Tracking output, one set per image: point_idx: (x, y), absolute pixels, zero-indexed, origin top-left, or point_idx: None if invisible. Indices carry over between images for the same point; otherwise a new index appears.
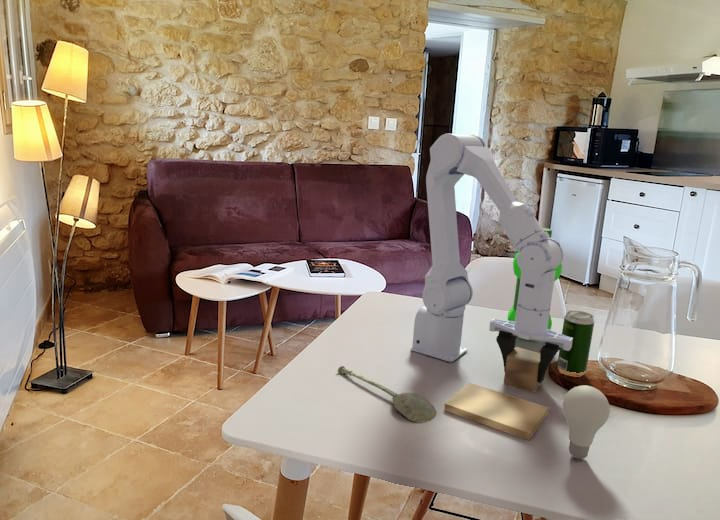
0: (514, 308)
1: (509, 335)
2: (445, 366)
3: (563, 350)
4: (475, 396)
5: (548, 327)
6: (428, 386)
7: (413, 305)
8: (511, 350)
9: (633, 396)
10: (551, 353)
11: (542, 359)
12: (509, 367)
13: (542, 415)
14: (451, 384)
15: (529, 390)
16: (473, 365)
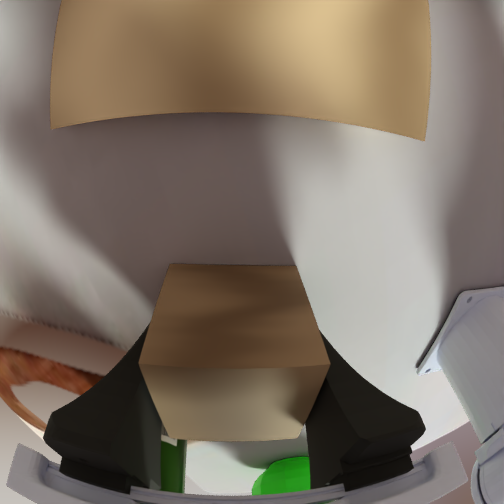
0: (330, 501)
1: (355, 477)
2: (473, 261)
3: (161, 461)
4: (364, 15)
5: (255, 490)
6: (495, 95)
7: (466, 415)
8: (315, 412)
9: (25, 368)
10: (50, 425)
11: (121, 397)
12: (295, 318)
13: (54, 48)
14: (457, 142)
15: (185, 266)
16: (404, 320)
